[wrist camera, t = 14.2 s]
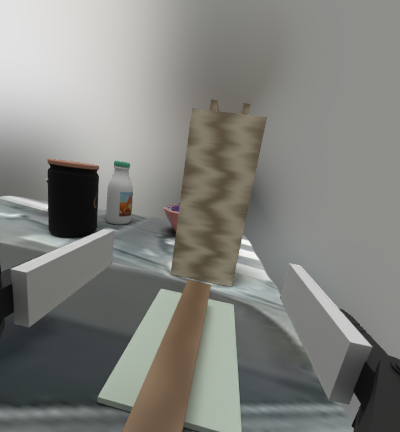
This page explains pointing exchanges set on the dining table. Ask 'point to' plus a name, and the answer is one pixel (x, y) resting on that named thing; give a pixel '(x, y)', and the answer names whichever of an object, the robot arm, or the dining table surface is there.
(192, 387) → the mat
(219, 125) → the wooden block tower
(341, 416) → the dining table surface
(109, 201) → the milk bottle
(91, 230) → the coffee jar
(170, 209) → the cell model
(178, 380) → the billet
